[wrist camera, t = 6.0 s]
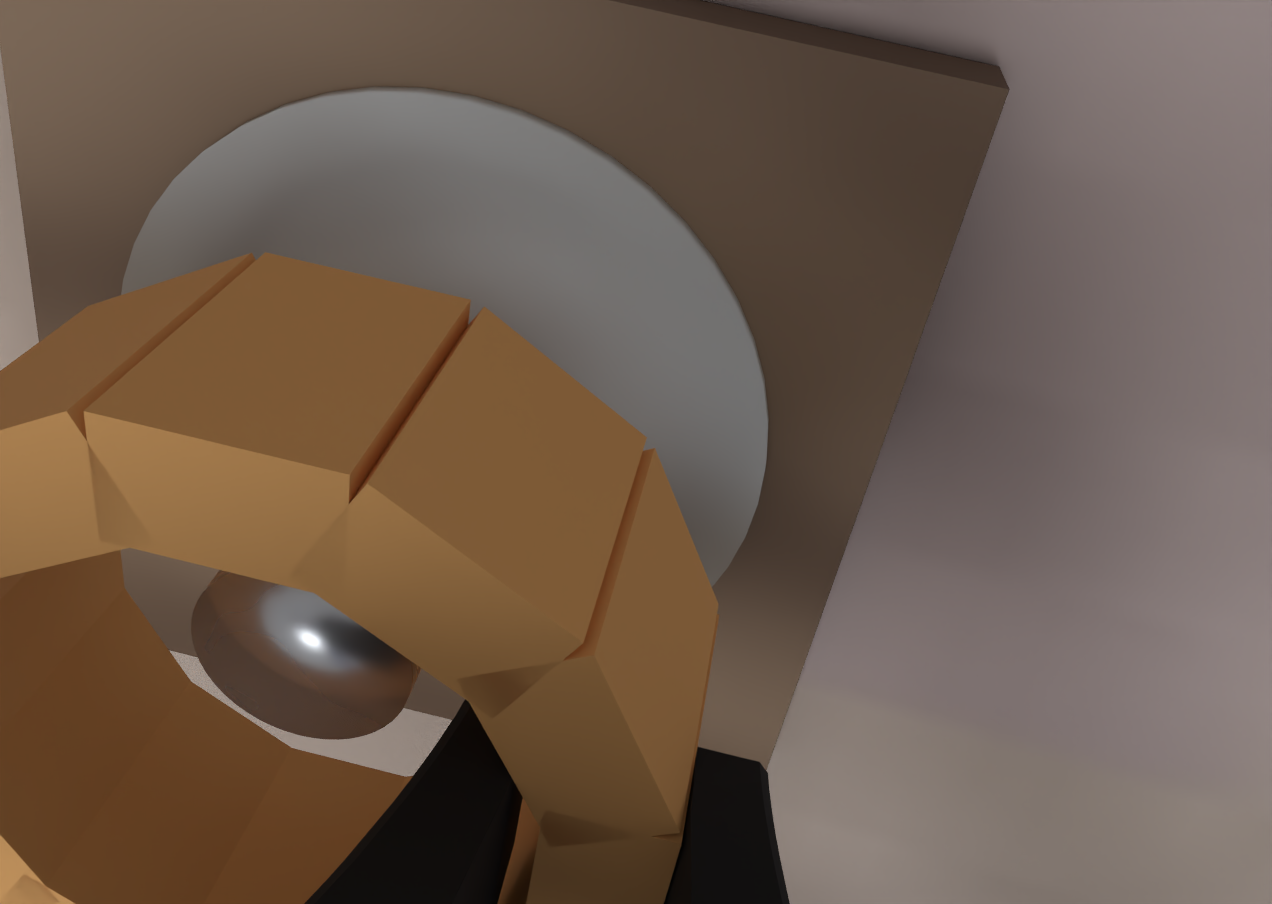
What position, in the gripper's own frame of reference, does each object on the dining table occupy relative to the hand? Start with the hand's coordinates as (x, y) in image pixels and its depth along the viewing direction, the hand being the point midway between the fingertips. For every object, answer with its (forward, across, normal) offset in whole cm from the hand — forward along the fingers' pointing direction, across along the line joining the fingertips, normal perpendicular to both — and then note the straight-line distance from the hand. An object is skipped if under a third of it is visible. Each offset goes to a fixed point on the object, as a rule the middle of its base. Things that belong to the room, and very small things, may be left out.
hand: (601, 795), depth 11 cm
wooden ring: (+2, +3, 0) cm, 4 cm away
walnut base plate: (+7, +3, 0) cm, 8 cm away
